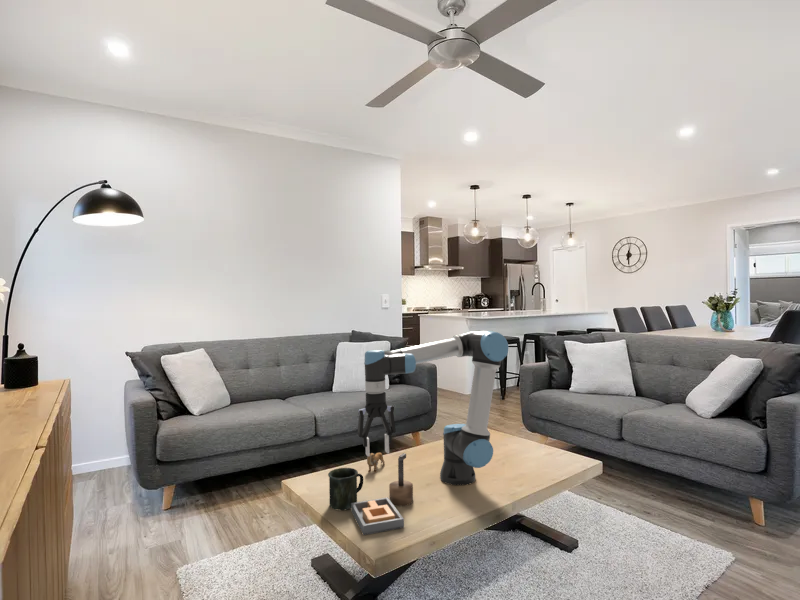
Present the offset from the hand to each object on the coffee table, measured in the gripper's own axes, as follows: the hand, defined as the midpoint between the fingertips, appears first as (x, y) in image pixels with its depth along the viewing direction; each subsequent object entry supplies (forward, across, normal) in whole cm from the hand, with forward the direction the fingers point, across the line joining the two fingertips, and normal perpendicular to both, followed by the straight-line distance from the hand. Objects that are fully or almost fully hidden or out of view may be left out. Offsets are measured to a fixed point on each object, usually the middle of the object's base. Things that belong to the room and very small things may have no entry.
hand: (377, 453), depth 163 cm
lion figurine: (+20, +10, +37) cm, 43 cm away
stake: (+20, +9, +2) cm, 22 cm away
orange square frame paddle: (+19, -4, -9) cm, 21 cm away
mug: (+20, -10, +7) cm, 23 cm away
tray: (+20, -4, -9) cm, 22 cm away
